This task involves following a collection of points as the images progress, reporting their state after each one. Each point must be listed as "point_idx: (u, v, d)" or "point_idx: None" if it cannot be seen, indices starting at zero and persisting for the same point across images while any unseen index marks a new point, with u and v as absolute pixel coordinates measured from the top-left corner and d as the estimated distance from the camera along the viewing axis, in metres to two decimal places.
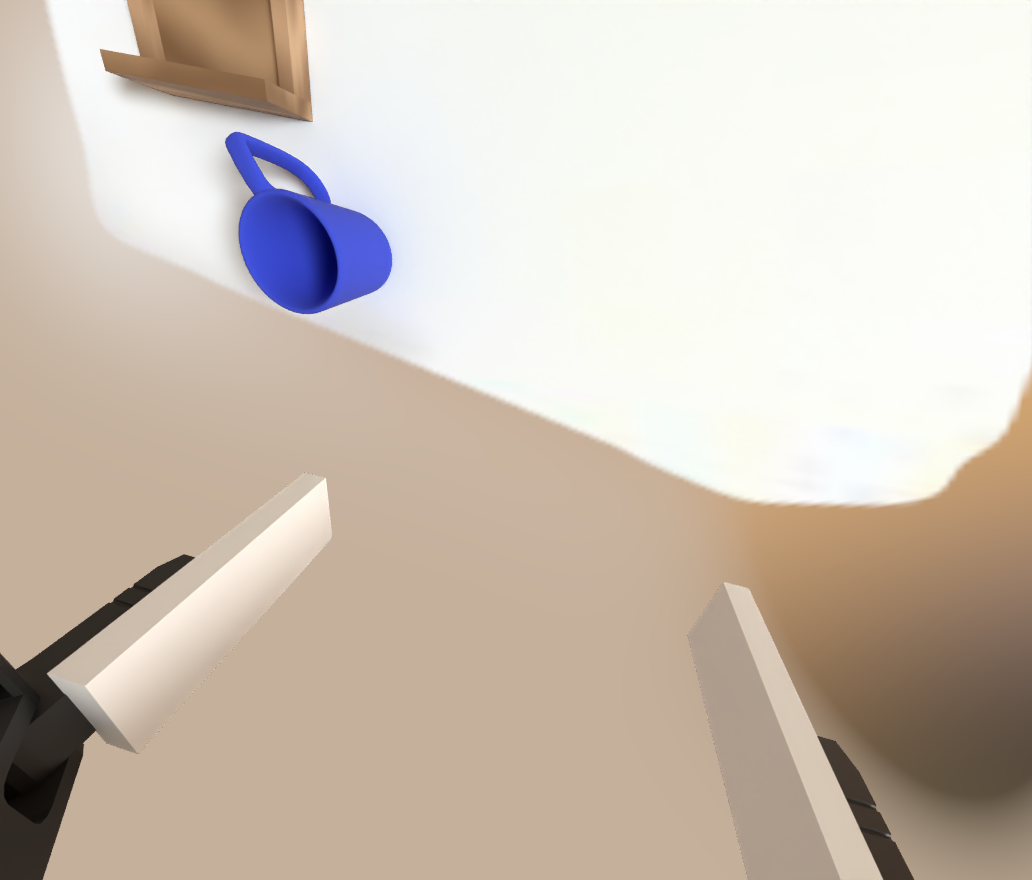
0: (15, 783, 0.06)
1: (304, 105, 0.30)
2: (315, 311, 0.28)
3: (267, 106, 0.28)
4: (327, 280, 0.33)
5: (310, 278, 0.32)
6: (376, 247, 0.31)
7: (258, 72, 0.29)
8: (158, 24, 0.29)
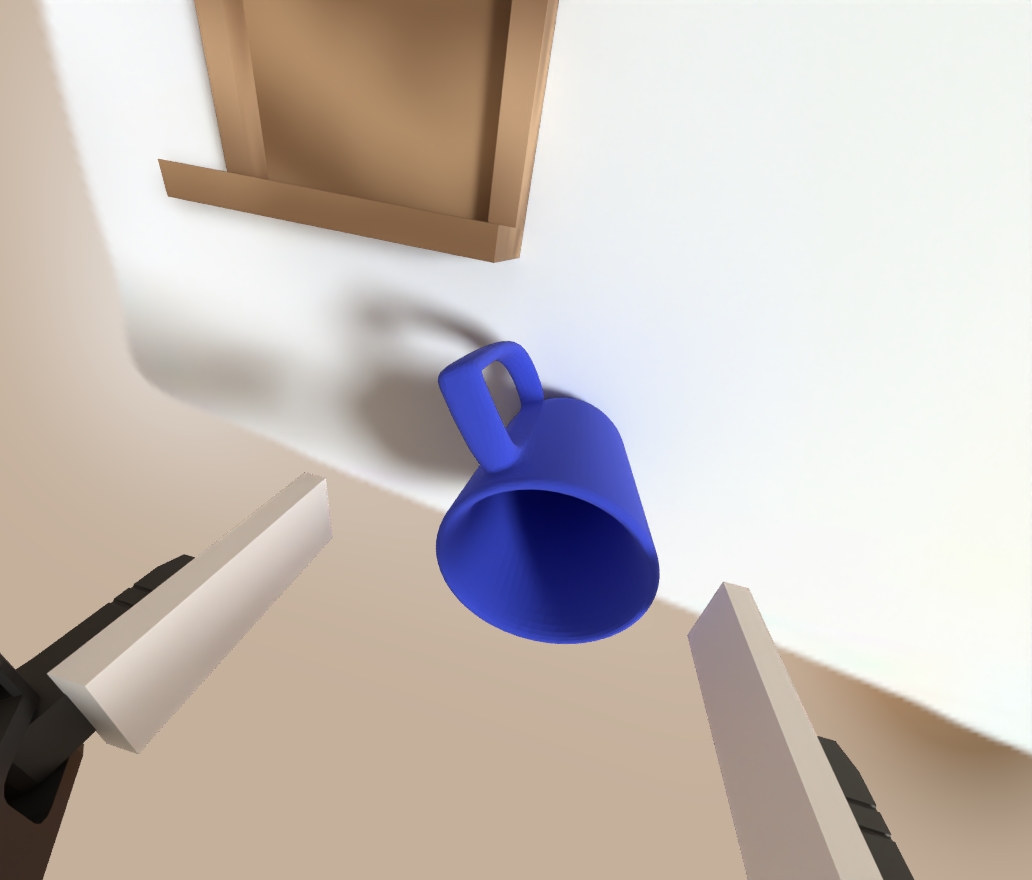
0: (15, 783, 0.06)
1: (518, 237, 0.16)
2: (563, 643, 0.15)
3: None
4: (521, 506, 0.20)
5: (506, 521, 0.19)
6: None
7: (441, 182, 0.16)
8: (257, 96, 0.16)
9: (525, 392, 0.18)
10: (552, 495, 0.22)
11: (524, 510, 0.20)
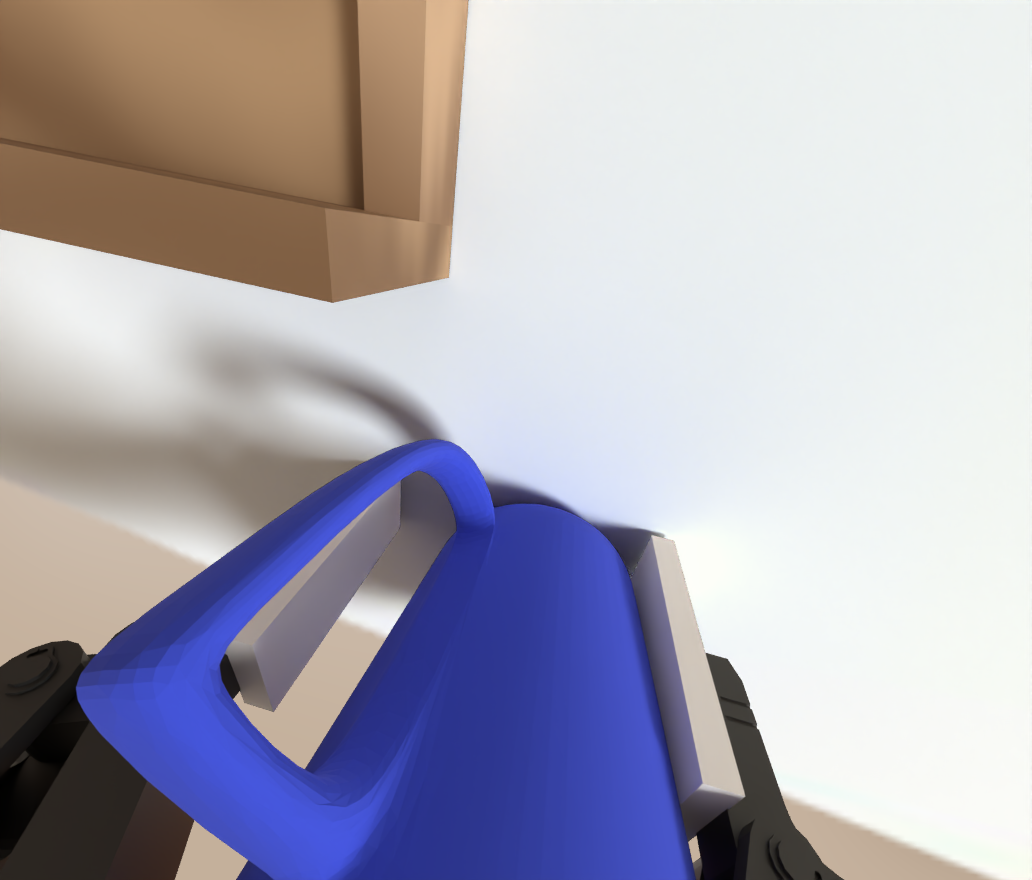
0: None
1: (438, 242, 0.09)
2: None
3: None
4: None
5: None
6: None
7: (279, 132, 0.08)
8: None
9: (463, 510, 0.10)
10: None
11: None
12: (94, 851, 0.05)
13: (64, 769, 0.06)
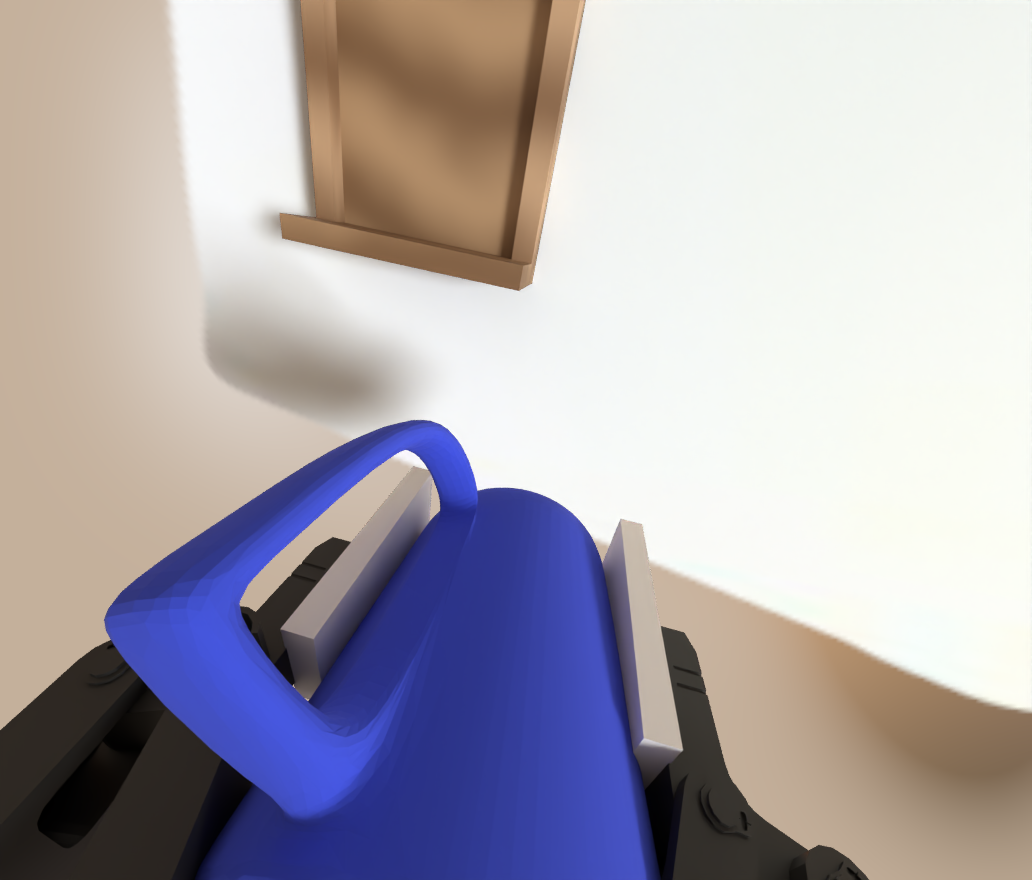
0: None
1: (532, 269, 0.22)
2: None
3: None
4: None
5: None
6: None
7: (476, 229, 0.22)
8: (343, 165, 0.21)
9: (447, 491, 0.11)
10: None
11: None
12: (167, 839, 0.05)
13: (144, 751, 0.06)
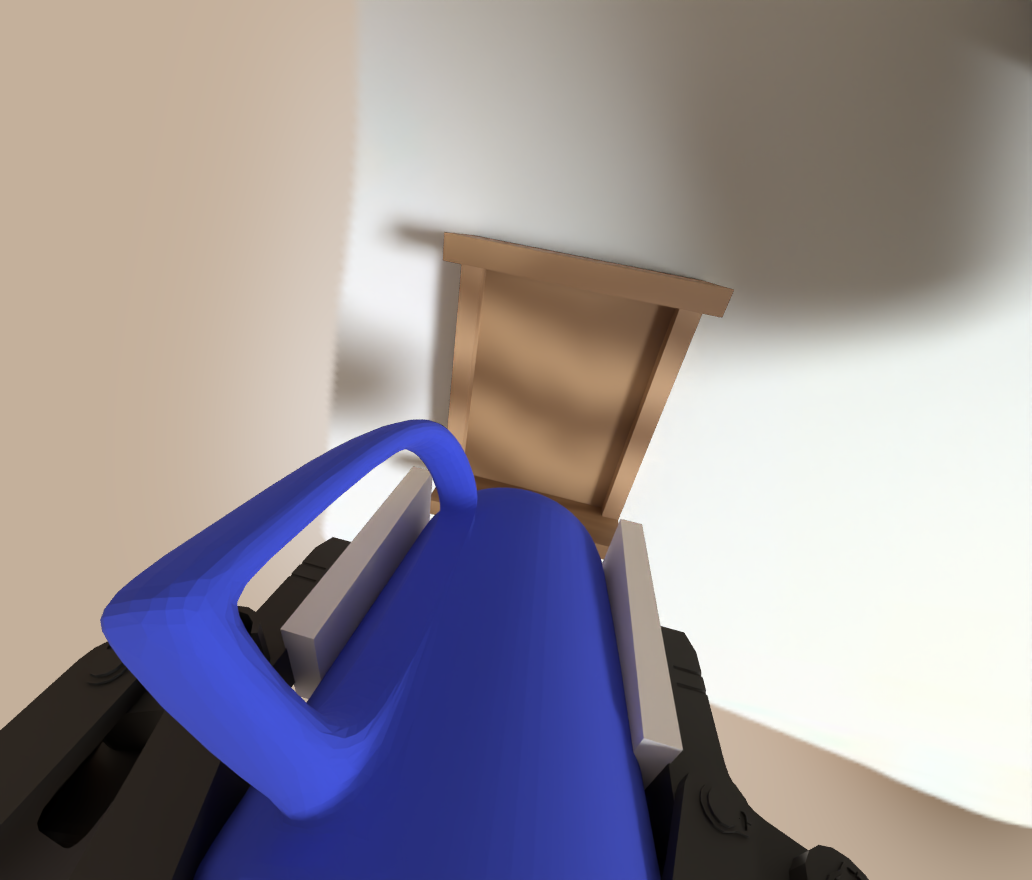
0: None
1: None
2: None
3: None
4: None
5: None
6: None
7: (572, 487, 0.27)
8: (466, 439, 0.27)
9: (447, 490, 0.11)
10: None
11: None
12: (167, 838, 0.05)
13: (144, 751, 0.06)
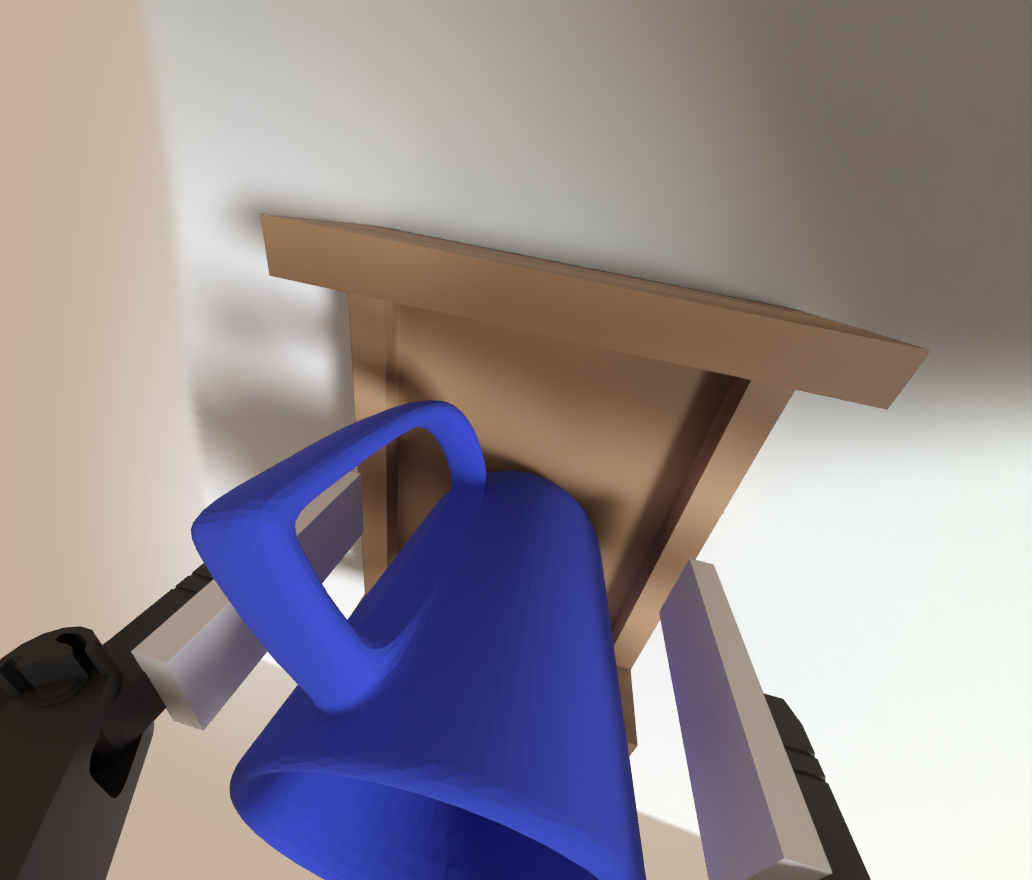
0: (97, 755, 0.07)
1: None
2: None
3: None
4: None
5: None
6: None
7: None
8: (398, 542, 0.18)
9: (458, 468, 0.12)
10: None
11: None
12: None
13: None
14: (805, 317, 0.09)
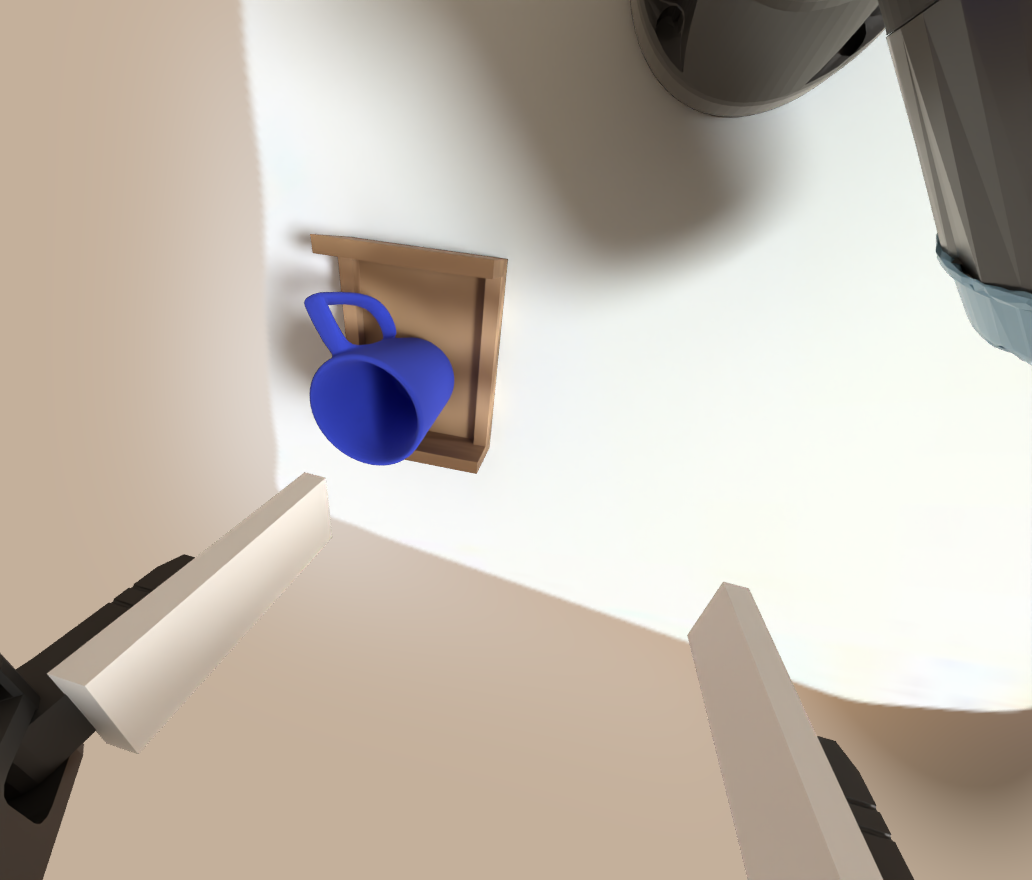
0: (15, 783, 0.06)
1: (488, 444, 0.36)
2: (386, 464, 0.26)
3: None
4: (386, 406, 0.31)
5: (372, 410, 0.30)
6: (445, 383, 0.29)
7: (451, 424, 0.35)
8: None
9: (385, 330, 0.30)
10: (414, 405, 0.33)
11: (388, 409, 0.31)
12: None
13: None
14: (485, 257, 0.27)
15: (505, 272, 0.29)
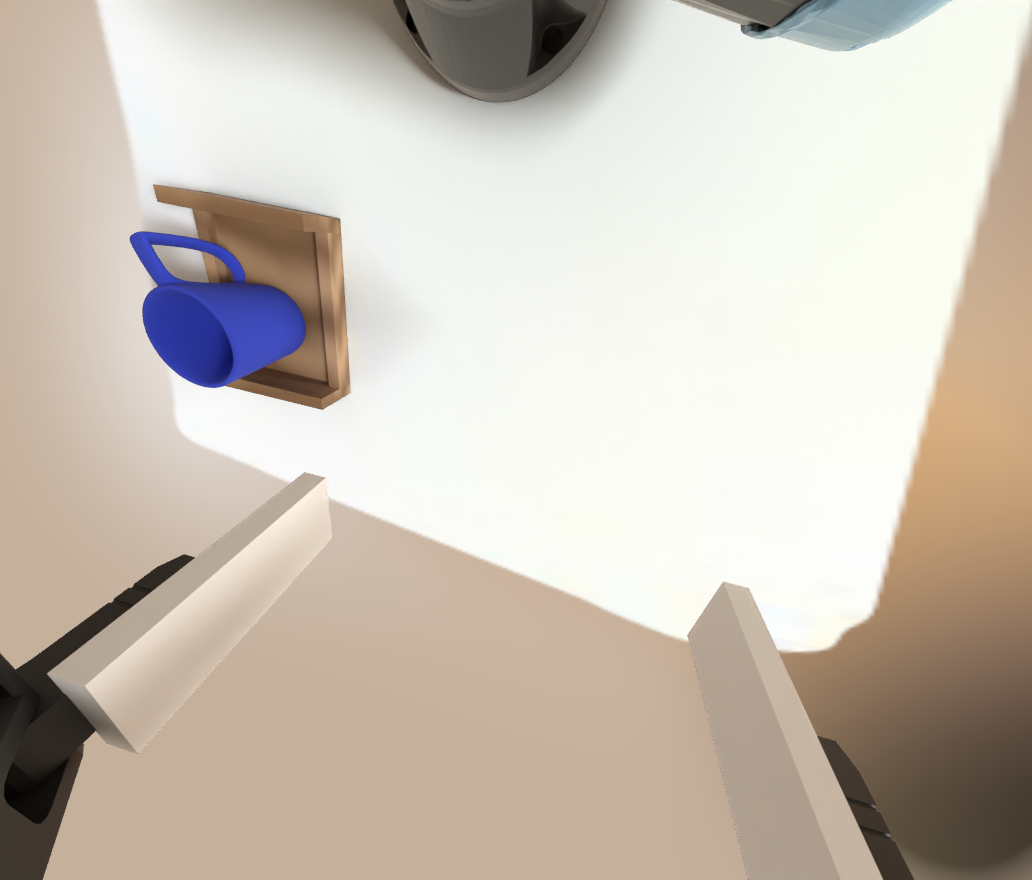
0: (15, 783, 0.06)
1: (345, 388, 0.41)
2: (215, 386, 0.31)
3: None
4: None
5: (221, 345, 0.35)
6: (283, 324, 0.34)
7: (312, 369, 0.40)
8: None
9: (235, 276, 0.34)
10: None
11: None
12: None
13: None
14: (307, 213, 0.31)
15: (337, 230, 0.33)
